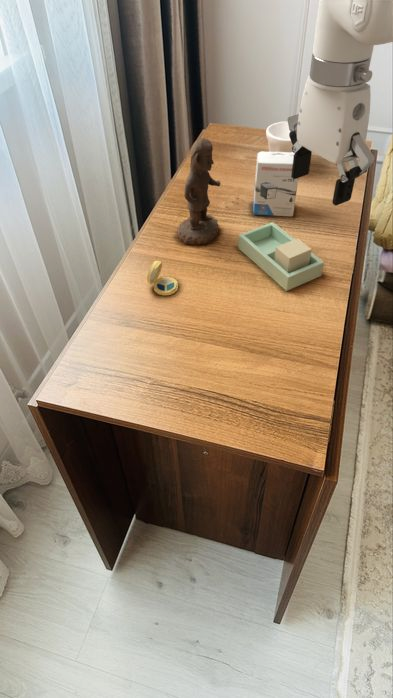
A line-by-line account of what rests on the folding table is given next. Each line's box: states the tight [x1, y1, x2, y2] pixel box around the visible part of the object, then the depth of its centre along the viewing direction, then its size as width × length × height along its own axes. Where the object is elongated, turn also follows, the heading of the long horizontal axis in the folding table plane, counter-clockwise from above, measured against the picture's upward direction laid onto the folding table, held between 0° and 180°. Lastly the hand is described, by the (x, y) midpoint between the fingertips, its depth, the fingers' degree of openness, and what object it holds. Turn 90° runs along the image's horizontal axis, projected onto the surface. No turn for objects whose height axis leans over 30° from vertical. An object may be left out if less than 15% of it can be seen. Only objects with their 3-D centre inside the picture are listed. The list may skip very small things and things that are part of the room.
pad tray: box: [237, 221, 325, 292], centre depth 94 cm, size 8×15×3 cm, turn 31°
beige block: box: [274, 238, 313, 274], centre depth 90 cm, size 4×5×4 cm
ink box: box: [252, 150, 299, 217], centre depth 103 cm, size 9×5×12 cm, turn 84°
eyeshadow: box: [146, 260, 179, 296], centre depth 89 cm, size 4×5×5 cm
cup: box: [265, 120, 293, 152], centre depth 116 cm, size 10×10×9 cm
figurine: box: [177, 137, 221, 246], centre depth 94 cm, size 9×8×20 cm
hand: (319, 188), depth 78 cm, fingers open, 9 cm apart
